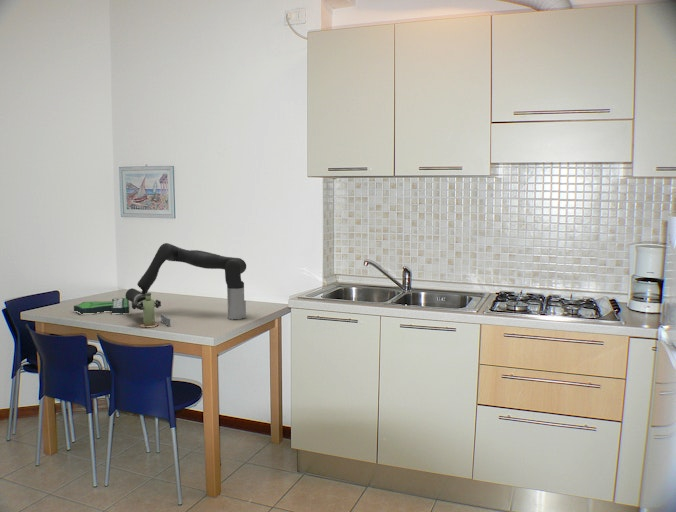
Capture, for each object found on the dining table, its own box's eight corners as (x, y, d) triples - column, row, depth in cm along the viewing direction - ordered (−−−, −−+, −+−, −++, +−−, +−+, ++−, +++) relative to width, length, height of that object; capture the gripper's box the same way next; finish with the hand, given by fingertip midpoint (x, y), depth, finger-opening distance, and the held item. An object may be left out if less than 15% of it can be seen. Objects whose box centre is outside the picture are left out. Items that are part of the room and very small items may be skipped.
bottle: (153, 323, 300) (152, 291, 298) (156, 325, 295) (154, 293, 293) (142, 324, 297) (141, 292, 295) (145, 326, 292) (143, 294, 290)
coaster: (155, 323, 302) (155, 322, 302) (160, 326, 295) (160, 325, 294) (138, 325, 297) (138, 324, 297) (142, 328, 290) (142, 327, 290)
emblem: (129, 307, 324) (71, 311, 313) (129, 314, 324) (71, 318, 314) (128, 297, 352) (75, 301, 341) (128, 304, 352) (76, 307, 342)
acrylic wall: (163, 321, 307) (162, 313, 306) (170, 326, 295) (170, 319, 294) (161, 321, 306) (161, 314, 306) (168, 326, 294) (168, 319, 294)
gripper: (128, 296, 303) (134, 301, 289) (155, 293, 310) (163, 298, 296) (128, 309, 303) (135, 315, 290) (155, 306, 311) (163, 312, 297)
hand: (149, 307), depth 293 cm, fingers open, 8 cm apart
